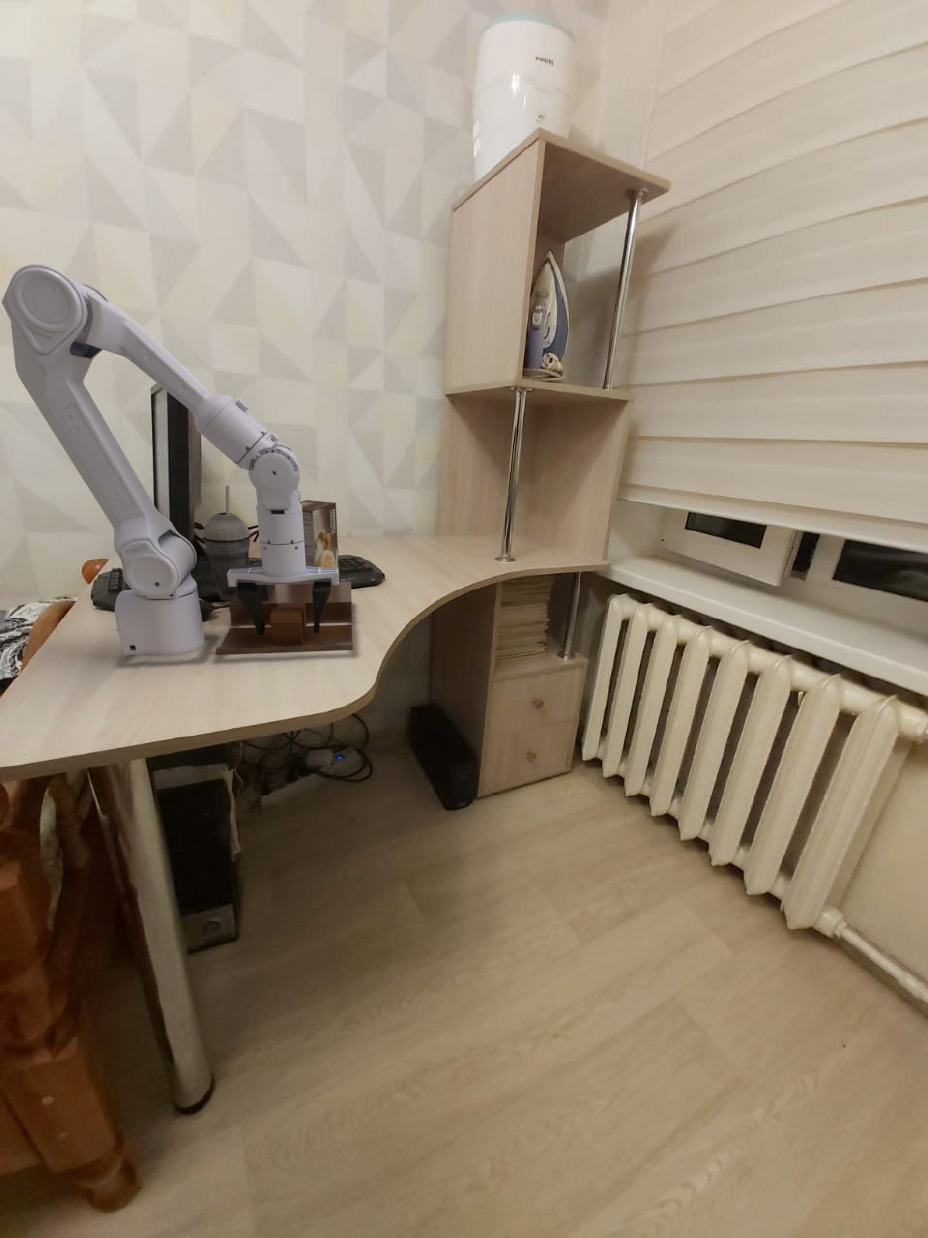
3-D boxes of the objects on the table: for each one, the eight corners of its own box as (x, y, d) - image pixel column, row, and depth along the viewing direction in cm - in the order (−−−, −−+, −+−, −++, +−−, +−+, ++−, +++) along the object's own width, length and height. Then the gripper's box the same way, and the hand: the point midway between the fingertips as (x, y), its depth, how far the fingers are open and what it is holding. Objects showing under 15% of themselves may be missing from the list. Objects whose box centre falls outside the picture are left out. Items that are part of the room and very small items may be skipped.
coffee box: (310, 578, 101) (306, 498, 95) (340, 582, 100) (337, 502, 94) (286, 592, 93) (280, 506, 87) (318, 597, 92) (314, 510, 86)
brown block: (302, 646, 71) (300, 615, 69) (272, 647, 70) (269, 615, 68) (306, 623, 78) (304, 595, 76) (279, 624, 77) (277, 595, 75)
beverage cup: (229, 592, 91) (215, 480, 84) (265, 597, 90) (254, 484, 82) (202, 605, 85) (184, 485, 77) (241, 611, 83) (226, 489, 76)
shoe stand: (217, 661, 67) (212, 631, 66) (244, 607, 85) (241, 582, 83) (353, 655, 71) (352, 627, 69) (351, 605, 89) (351, 581, 87)
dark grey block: (268, 600, 77) (265, 571, 75) (240, 601, 76) (237, 571, 74) (275, 584, 84) (272, 556, 82) (249, 584, 83) (246, 556, 81)
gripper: (337, 533, 72) (341, 619, 78) (230, 532, 69) (241, 621, 74) (336, 545, 66) (340, 637, 71) (218, 545, 63) (231, 641, 68)
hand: (289, 631), depth 72 cm, fingers open, 7 cm apart
